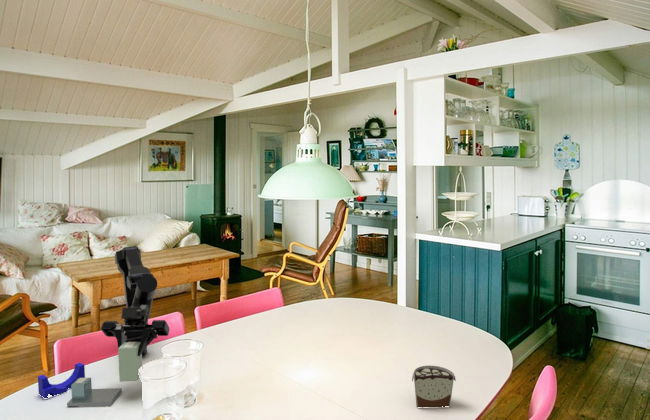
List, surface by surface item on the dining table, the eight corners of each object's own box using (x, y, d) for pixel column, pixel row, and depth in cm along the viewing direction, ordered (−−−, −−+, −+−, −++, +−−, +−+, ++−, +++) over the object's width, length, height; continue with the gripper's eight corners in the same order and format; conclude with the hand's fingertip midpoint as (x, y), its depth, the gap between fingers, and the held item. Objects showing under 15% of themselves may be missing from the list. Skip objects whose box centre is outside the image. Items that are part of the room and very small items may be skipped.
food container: (448, 396, 131) (449, 364, 130) (455, 407, 125) (456, 373, 124) (407, 397, 130) (407, 364, 130) (411, 408, 124) (412, 374, 123)
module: (119, 381, 128) (118, 347, 127) (125, 374, 132) (124, 341, 131) (137, 381, 128) (135, 347, 127) (142, 374, 133) (141, 341, 132)
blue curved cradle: (45, 400, 128) (44, 380, 128) (38, 395, 131) (37, 376, 131) (87, 384, 138) (86, 366, 138) (80, 380, 141) (79, 362, 140)
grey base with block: (67, 407, 125) (66, 387, 124) (81, 393, 132) (80, 374, 132) (110, 405, 125) (109, 386, 125) (121, 391, 133) (121, 373, 133)
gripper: (102, 295, 132) (86, 345, 122) (165, 294, 133) (154, 344, 123) (114, 312, 140) (100, 360, 131) (173, 311, 142) (164, 359, 132)
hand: (129, 355), depth 129 cm, fingers closed on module, 5 cm apart
